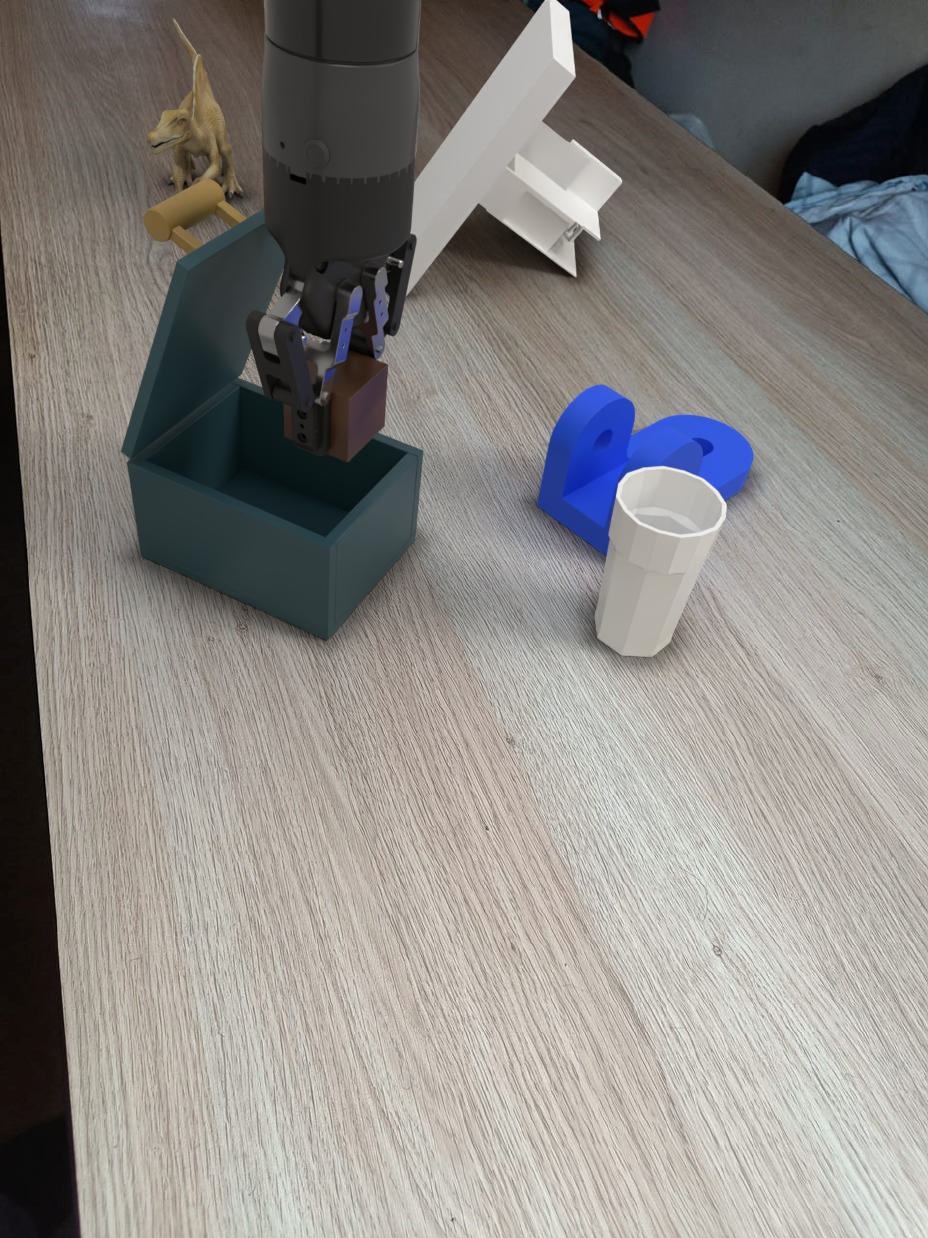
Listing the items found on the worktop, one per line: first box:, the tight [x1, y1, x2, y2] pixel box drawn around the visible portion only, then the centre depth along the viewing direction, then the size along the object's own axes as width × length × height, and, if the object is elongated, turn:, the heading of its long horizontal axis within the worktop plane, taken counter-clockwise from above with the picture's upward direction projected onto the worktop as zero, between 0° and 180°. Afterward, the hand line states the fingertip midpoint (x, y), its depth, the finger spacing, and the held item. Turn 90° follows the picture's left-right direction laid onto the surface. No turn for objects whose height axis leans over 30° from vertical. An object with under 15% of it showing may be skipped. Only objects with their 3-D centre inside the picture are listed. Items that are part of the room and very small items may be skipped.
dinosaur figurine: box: [145, 17, 244, 199], centre depth 106 cm, size 8×26×13 cm, turn 5°
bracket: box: [536, 384, 754, 557], centre depth 79 cm, size 18×8×9 cm, turn 133°
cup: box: [594, 466, 728, 658], centre depth 67 cm, size 7×7×11 cm
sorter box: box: [126, 377, 424, 641], centre depth 70 cm, size 15×12×8 cm
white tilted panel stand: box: [406, 0, 623, 297], centre depth 102 cm, size 23×16×24 cm
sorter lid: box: [120, 179, 285, 460], centre depth 63 cm, size 15×12×5 cm
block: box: [283, 340, 389, 462], centre depth 63 cm, size 4×4×4 cm
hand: (334, 427), depth 64 cm, fingers closed on block, 4 cm apart
